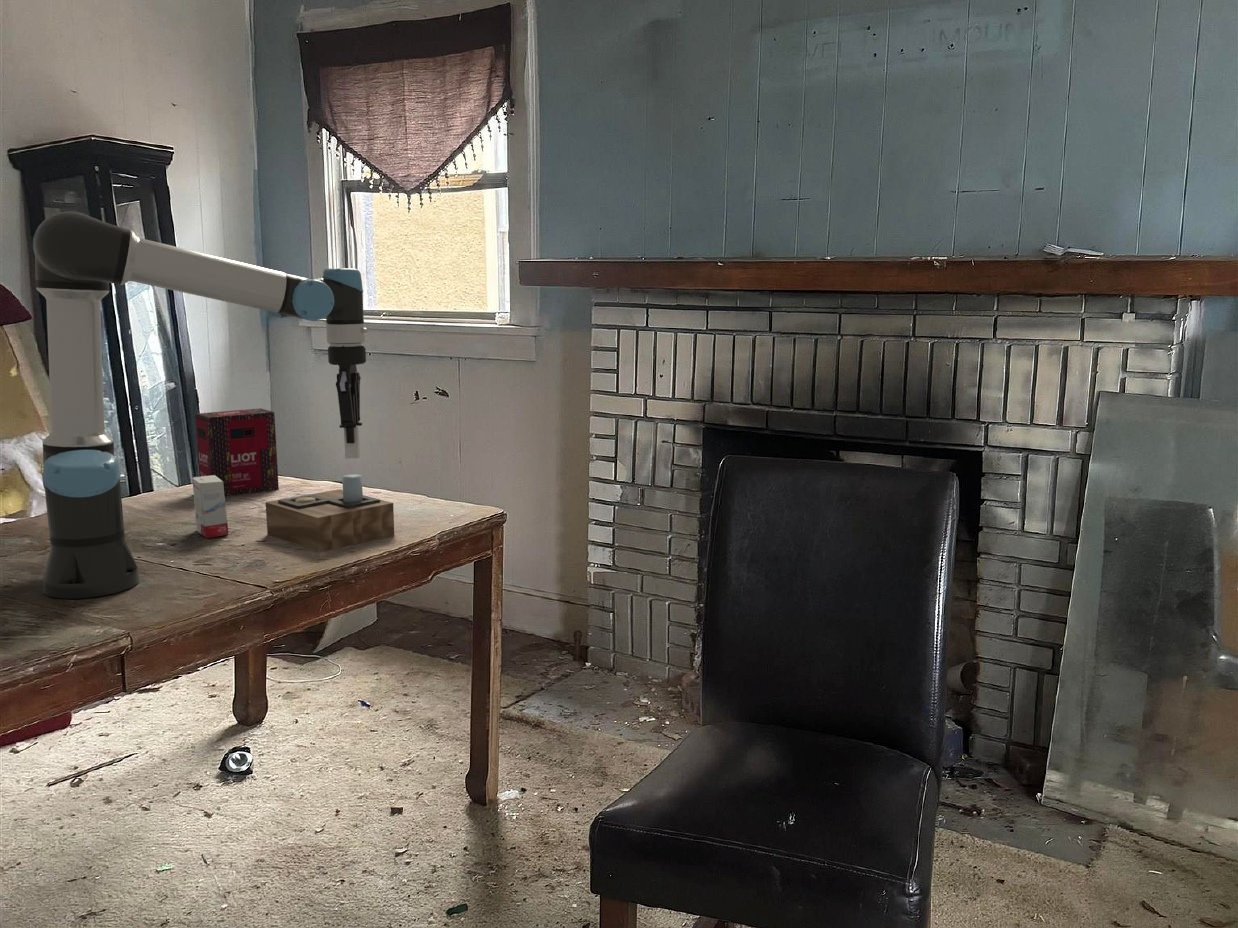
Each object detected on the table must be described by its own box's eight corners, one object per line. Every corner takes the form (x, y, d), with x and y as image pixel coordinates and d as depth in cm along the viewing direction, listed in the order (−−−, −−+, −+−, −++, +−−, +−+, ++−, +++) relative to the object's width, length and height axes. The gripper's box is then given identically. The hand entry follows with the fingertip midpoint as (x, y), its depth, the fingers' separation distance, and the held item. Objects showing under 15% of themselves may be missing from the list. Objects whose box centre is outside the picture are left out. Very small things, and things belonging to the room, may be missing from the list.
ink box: (229, 536, 214) (225, 481, 212) (203, 539, 211) (199, 483, 209) (219, 527, 221) (216, 474, 219) (195, 530, 218) (191, 476, 216)
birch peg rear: (303, 537, 212) (302, 502, 211) (293, 533, 215) (291, 499, 213) (320, 533, 215) (319, 499, 214) (310, 530, 218) (308, 496, 216)
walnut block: (319, 551, 202) (317, 514, 201) (267, 534, 215) (265, 499, 214) (394, 535, 215) (393, 500, 214) (341, 519, 228) (339, 486, 227)
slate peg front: (350, 514, 212) (349, 479, 210) (340, 511, 214) (338, 476, 213) (367, 511, 215) (365, 476, 213) (356, 508, 217) (354, 473, 216)
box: (265, 484, 266) (260, 408, 262) (278, 489, 259) (274, 412, 255) (200, 492, 255) (195, 413, 252) (212, 498, 249) (207, 417, 245)
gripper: (358, 347, 202) (364, 463, 206) (370, 342, 215) (376, 451, 219) (320, 347, 202) (327, 463, 206) (334, 342, 214) (341, 452, 219)
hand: (352, 457), depth 213 cm, fingers closed
